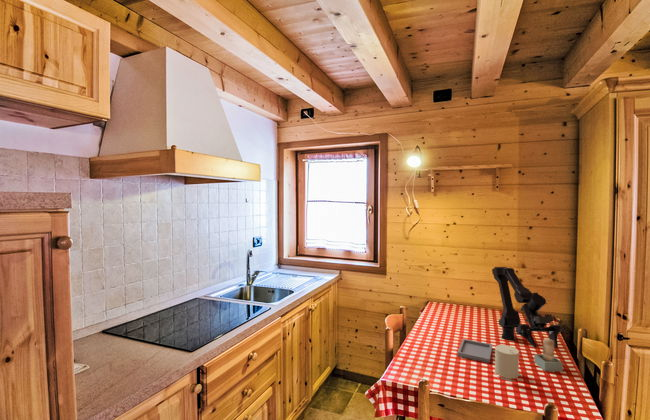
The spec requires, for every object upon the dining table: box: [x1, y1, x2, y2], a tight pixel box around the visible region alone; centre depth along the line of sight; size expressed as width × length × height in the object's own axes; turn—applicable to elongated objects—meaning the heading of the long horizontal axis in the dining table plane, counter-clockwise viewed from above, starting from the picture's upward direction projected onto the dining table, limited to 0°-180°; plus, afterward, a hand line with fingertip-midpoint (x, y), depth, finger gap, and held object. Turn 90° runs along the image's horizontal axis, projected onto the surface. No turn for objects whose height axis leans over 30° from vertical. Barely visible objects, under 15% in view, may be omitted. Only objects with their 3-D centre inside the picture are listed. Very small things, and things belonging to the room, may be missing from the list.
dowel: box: [542, 338, 555, 362], centre depth 148 cm, size 4×4×12 cm
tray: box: [457, 338, 493, 364], centre depth 165 cm, size 18×14×2 cm
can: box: [494, 344, 520, 382], centre depth 143 cm, size 9×9×12 cm
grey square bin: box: [533, 353, 564, 372], centre depth 148 cm, size 8×8×5 cm
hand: (546, 348), depth 149 cm, fingers open, 9 cm apart
